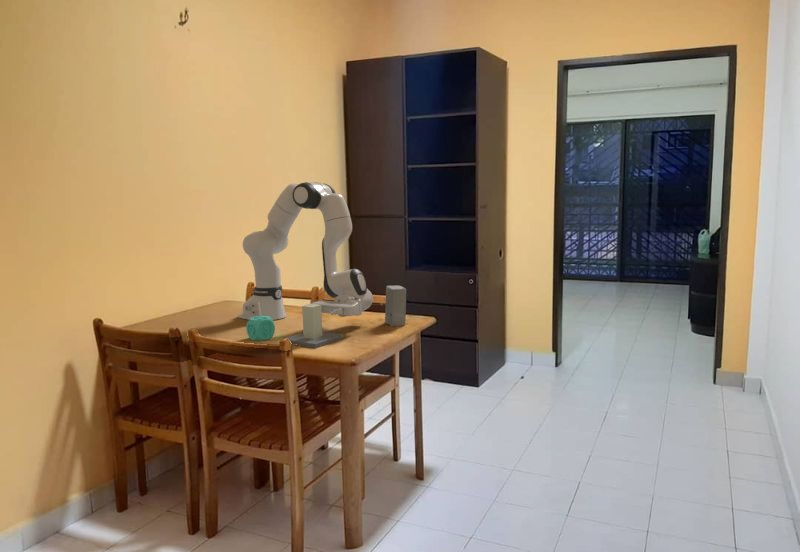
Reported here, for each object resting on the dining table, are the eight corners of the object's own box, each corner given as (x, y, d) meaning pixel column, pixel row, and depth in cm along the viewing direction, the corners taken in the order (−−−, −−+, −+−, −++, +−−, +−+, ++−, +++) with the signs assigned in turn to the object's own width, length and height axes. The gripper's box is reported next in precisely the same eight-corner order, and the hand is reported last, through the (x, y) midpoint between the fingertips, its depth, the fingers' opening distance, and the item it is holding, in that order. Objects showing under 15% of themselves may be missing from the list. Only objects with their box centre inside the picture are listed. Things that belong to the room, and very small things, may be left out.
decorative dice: (264, 334, 242) (263, 314, 241) (275, 337, 237) (274, 317, 235) (246, 338, 237) (245, 318, 236) (257, 341, 231) (256, 321, 230)
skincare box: (384, 322, 258) (383, 285, 256) (400, 321, 261) (399, 284, 259) (391, 327, 251) (390, 288, 248) (407, 325, 253) (406, 287, 251)
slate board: (282, 343, 228) (282, 339, 228) (310, 333, 242) (310, 330, 241) (316, 348, 220) (315, 344, 220) (343, 338, 233) (342, 334, 233)
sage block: (303, 337, 230) (302, 306, 228) (312, 334, 234) (310, 303, 232) (313, 338, 227) (312, 307, 225) (322, 336, 231) (321, 304, 230)
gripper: (323, 295, 251) (301, 301, 239) (364, 299, 240) (342, 305, 229) (324, 310, 252) (301, 317, 240) (364, 315, 241) (343, 322, 230)
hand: (322, 311), depth 234 cm, fingers open, 8 cm apart
